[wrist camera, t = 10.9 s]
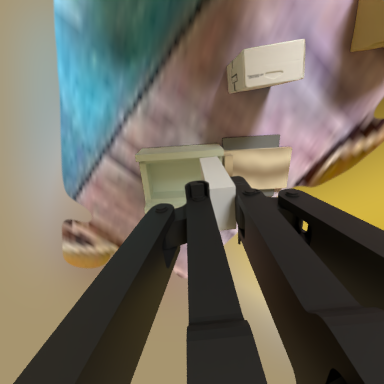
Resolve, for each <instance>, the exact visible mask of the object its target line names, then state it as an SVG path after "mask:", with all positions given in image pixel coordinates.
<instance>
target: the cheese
mask: <svg viewBox="0 0 384 384" xmlns="http://www.w3.org/2000/svg"><path fill="white" fill-rule="evenodd" d="M381 47H384V0H359V2H358V9H357V16H356V22H355V28H354V34H353V39H352V44H351V49H350V52H355V51H364V50H371V49H376V48H381Z"/></svg>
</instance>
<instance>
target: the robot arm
mask: <svg viewBox="0 0 384 384" xmlns="http://www.w3.org/2000/svg"><path fill="white" fill-rule="evenodd" d="M199 159H200V170H201V180H198V181H191V182H189V183H187V184H185V194H186V204H185V205H183V206H181V207H179V208H175V209H174V206H173V205H172V204H168V203H160V204H157V205H155V206H153V207H152V208H150V209H149V211H148V212H147V213H146V214H145V216H144V217H143V218H142V220H141V221H140V222H139V223H138V225H137V226H136V227H135V229H134V230H133V231H132V232H131V234H130V235H129V236H128V237H127V239H126V240H125V241H124V243H123V244H122V245H121V246H120V248H119V249H118V250H117V252H116V253H115V254H114V255H113V257H112V258H111V259H110V260H109V262H108V263H107V264H106V266H105V267H104V268H103V269H102V271H101V272H100V273H99V275H98V276H97V277H96V278H95V280H94V281H93V282H92V284H91V285H90V286H89V287H88V289H87V290H86V291H85V292H84V294H83V295H82V296H81V298H80V299H79V300H78V302H77V303H76V304H75V305H74V307H73V308H72V309H71V310H70V312H69V313H68V314H67V316H66V317H65V318H64V319H63V321H62V322H61V323H60V325H59V326H58V327H57V329H56V330H55V331H54V332H53V333H52V335H51V336H50V337H49V339H48V340H47V341H46V342H45V344H44V345H43V346H42V348H41V349H40V350H39V351H38V353H37V354H36V355H35V356H34V358H33V359H32V360H31V362H30V363H29V364H28V365H27V367H26V368H25V369H24V370H23V372H22V373H21V374H20V376H19V377H18V378H17V380H16V381H15V382H14V383H13V384H130V383H131V380H132V378H133V375H134V372H135V370H136V367H137V364H138V361H139V359H140V356H141V354H142V351H143V348H144V345H145V343H146V340H147V337H148V335H149V332H150V329H151V327H152V324H153V321H154V319H155V316H156V313H157V311H158V308H159V305H160V302H161V300H162V297H163V295H164V292H165V289H166V286H167V284H168V281H169V278H170V275H171V273H172V270H173V268H174V265H175V262H176V260H177V257H178V254H179V252H180V245H182V244H185V243H187V256H188V300H189V301H188V302H189V326H188V327H187V384H267V381H266V378H265V374H264V371H263V368H262V364H261V361H260V357H259V354H258V351H257V347H256V344H255V340H254V337H253V334H252V331H251V328H250V325H249V323H248V321H247V320H244V318H243V315H242V312H241V308H240V304H239V301H238V297H237V294H236V290H235V286H234V282H233V279H232V275H231V272H230V268H229V265H228V261H227V257H226V253H225V250H224V246H223V242H222V239H221V235H220V232H219V231H220V230H229V229H236V222H237V224H238V244H240V241H242V243H243V246H244V249H245V251H246V253H247V256H248V258H249V261H250V264H251V266H252V268H253V271H254V273H255V276H256V278H257V281H258V283H259V285H260V288H261V290H262V293H263V296H264V298H265V300H266V303H267V305H268V308H269V310H270V313H271V315H272V318H273V320H274V323H275V325H276V328H277V330H278V333H279V335H280V338H281V340H282V342H283V345H284V347H285V349H286V352H287V355H288V357H289V359H290V362H291V365H292V367H293V370H294V374H295V378H296V384H384V230H381V229H379V228H377V227H375V226H373V225H371V224H369V223H367V222H365V221H363V220H361V219H359V218H357V217H355V216H352V215H350V214H348V213H346V212H344V211H342V210H340V209H338V208H336V207H334V206H332V205H330V204H328V203H326V202H324V201H321V200H319V199H317V198H315V197H313V196H311V195H309V194H307V193H305V192H303V191H300V190H296V189H284V190H281V191H280V192H279V193H278V197H266V196H265V195H264V193H263V192H262V191H260V190H258V189H255V188H251V186H250V185H249V184H248V182H247V181H246V180H245V179H244V178H243V177H241V176H232V177H230V176H229V175H228V173H227V171H226V170H225V168H224V166H223V165H222V163H221V162H220V160H219V158H218V157H217V156H215V157H206V158H199ZM303 220H304V221H305V222H307V223H308V229H307V231H305V230H303V229H302V226H303Z"/></svg>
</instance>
